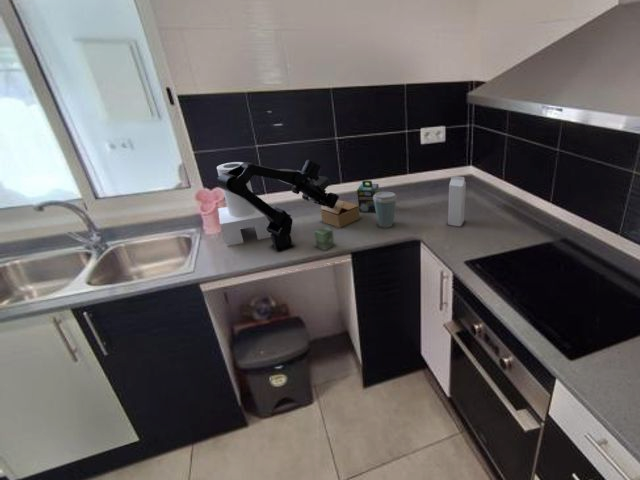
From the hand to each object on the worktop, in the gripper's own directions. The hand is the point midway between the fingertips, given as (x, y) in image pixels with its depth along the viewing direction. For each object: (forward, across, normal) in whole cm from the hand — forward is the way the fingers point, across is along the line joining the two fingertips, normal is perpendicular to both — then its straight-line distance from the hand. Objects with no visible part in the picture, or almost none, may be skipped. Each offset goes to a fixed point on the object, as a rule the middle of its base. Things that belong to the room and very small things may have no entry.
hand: (332, 205), depth 171 cm
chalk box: (+22, -1, -9) cm, 24 cm away
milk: (+29, -46, -16) cm, 57 cm away
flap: (0, 0, 0) cm, 0 cm away
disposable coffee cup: (+15, -21, -2) cm, 26 cm away
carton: (+9, 0, +3) cm, 10 cm away
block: (-6, -14, +19) cm, 24 cm away
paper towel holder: (-14, +24, +27) cm, 38 cm away
